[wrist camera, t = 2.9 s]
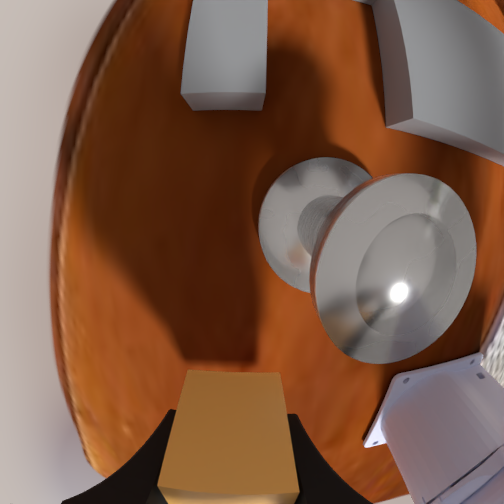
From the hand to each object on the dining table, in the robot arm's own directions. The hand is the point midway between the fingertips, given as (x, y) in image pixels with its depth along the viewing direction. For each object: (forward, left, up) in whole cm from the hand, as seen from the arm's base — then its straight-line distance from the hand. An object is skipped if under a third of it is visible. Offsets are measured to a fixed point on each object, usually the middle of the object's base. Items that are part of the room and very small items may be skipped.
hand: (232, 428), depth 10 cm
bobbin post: (-4, -8, -4) cm, 10 cm away
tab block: (0, 0, -2) cm, 2 cm away
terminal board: (-8, -18, -4) cm, 20 cm away
